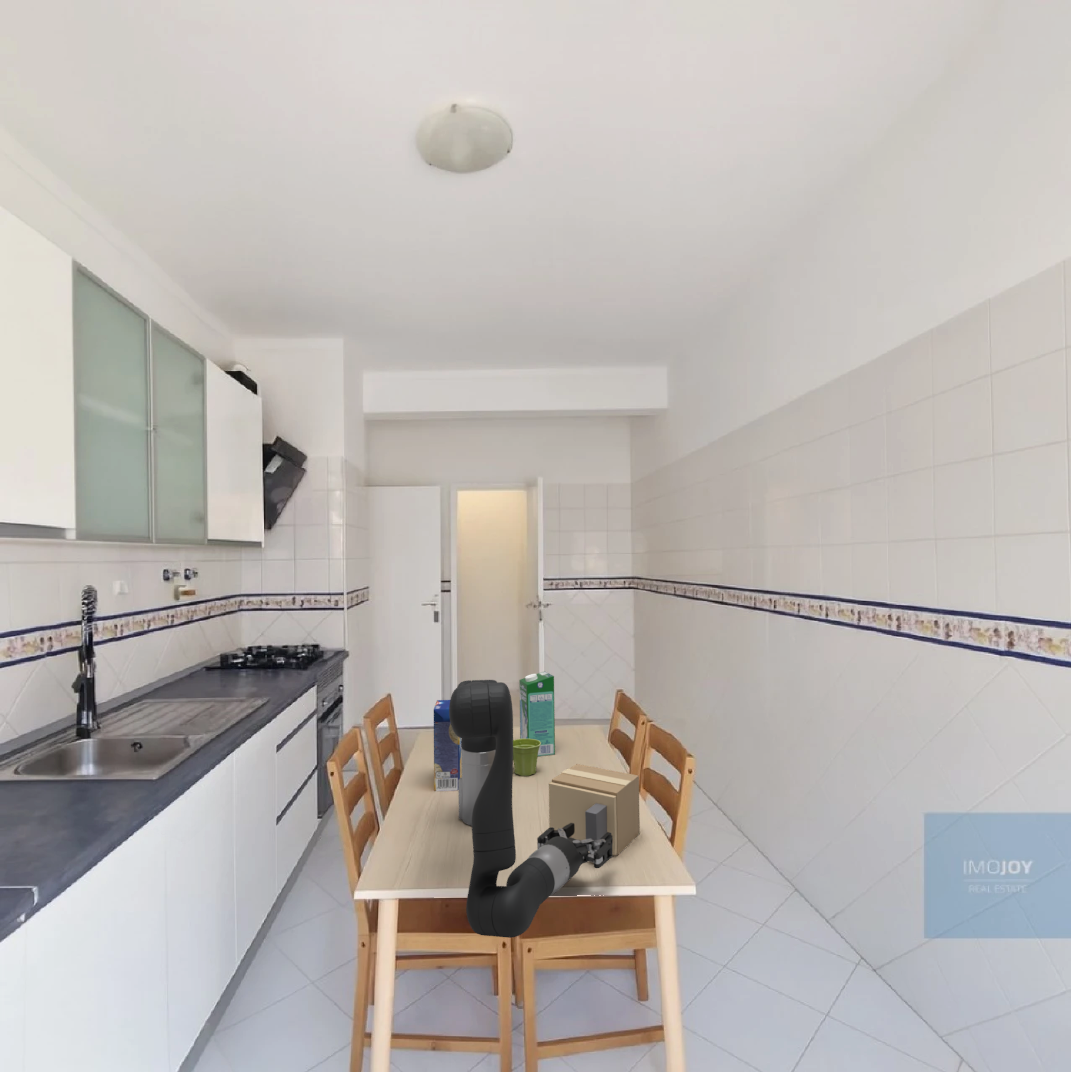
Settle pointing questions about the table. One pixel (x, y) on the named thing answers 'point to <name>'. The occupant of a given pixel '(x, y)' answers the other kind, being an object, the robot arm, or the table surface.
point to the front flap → (583, 812)
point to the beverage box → (445, 750)
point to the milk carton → (538, 711)
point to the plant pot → (525, 756)
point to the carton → (610, 784)
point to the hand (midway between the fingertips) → (591, 832)
